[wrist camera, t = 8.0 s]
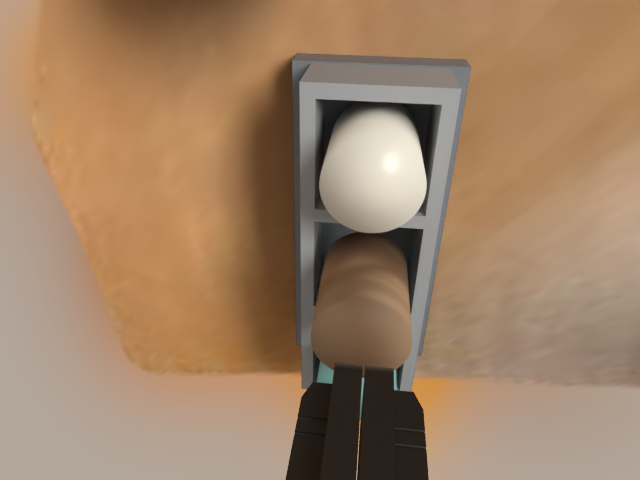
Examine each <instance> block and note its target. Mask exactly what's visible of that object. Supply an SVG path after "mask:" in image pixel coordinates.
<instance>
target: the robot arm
mask: <svg viewBox="0 0 640 480" xmlns="http://www.w3.org/2000/svg"><path fill="white" fill-rule="evenodd" d="M362 372H363V365H354V364H343V363H335V367H334V374H333V382H332V384H330V383H320V382H312V384H311V385H310V386H309V388H308V389H307V391H306V392H305V393H304V395H303V396H302V398H301V403H300V408H299V413H298V420H297V424H296V429H295V435H294V440H293V444H292V449H291V455H290V460H289V465H288V470H287V475H286V480H356V470H357V453H358V437H359V421H360V405H361V389H362ZM357 480H428V467H427V454H426V441H425V427H424V414H423V409H422V407H421V405H420V403H419V401H418V399H417V398H416V396H415V394H414V392H409V391H399V390H394V369H393V368H385V367H375V366H365V375H364V386H363V398H362V410H361V425H360V441H359V458H358V476H357Z"/></svg>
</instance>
